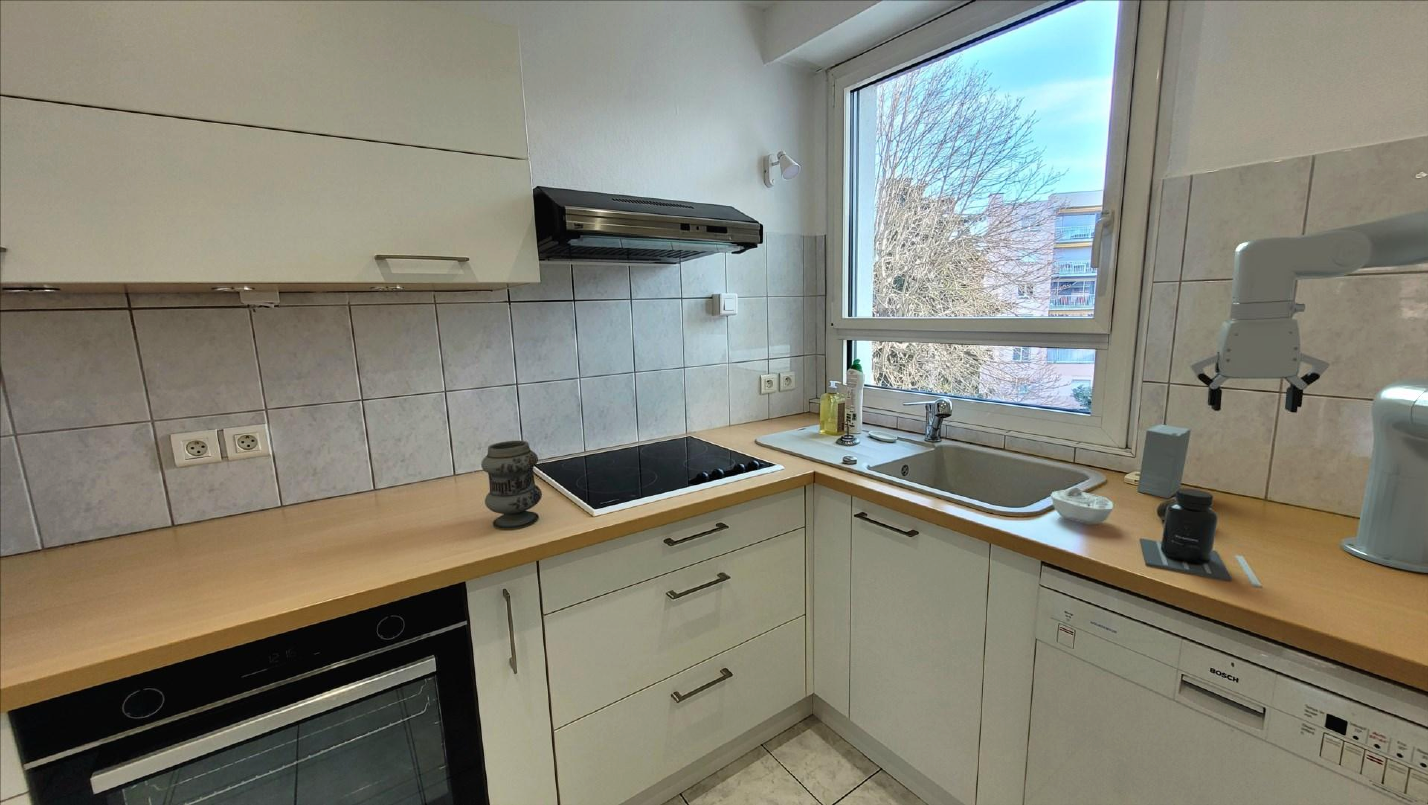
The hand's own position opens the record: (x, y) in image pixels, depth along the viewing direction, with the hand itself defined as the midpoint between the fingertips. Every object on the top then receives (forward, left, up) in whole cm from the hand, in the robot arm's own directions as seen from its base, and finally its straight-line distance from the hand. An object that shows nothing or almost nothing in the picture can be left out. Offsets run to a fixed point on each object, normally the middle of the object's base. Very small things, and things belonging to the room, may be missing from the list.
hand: (1252, 410), depth 95 cm
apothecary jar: (+129, +60, -26) cm, 145 cm away
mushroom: (+6, -11, -26) cm, 29 cm away
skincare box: (+7, -32, -26) cm, 42 cm away
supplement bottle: (+8, +10, -26) cm, 29 cm away
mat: (+8, +10, -26) cm, 29 cm away
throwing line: (0, +10, -26) cm, 28 cm away
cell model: (+23, -2, -26) cm, 35 cm away
